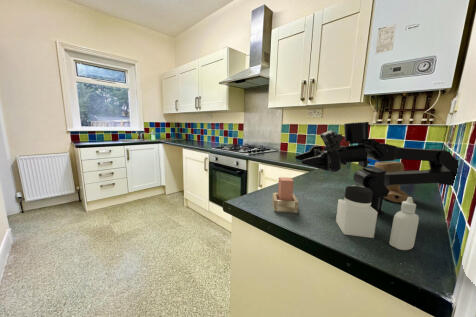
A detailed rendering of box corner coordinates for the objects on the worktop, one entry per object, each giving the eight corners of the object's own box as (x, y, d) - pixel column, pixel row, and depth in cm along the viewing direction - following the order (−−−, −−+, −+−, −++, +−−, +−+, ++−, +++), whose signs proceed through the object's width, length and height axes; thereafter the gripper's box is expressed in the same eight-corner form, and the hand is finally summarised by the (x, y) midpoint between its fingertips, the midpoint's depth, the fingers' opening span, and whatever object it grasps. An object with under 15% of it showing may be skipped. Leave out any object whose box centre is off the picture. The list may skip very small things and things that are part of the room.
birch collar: (293, 203, 69) (294, 194, 68) (297, 212, 61) (298, 202, 60) (272, 202, 69) (272, 192, 69) (273, 210, 62) (274, 200, 61)
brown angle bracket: (368, 189, 88) (373, 157, 85) (401, 194, 83) (407, 160, 80) (374, 200, 74) (380, 162, 72) (414, 206, 69) (421, 166, 67)
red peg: (288, 204, 67) (290, 177, 66) (291, 209, 63) (293, 180, 62) (277, 204, 67) (278, 177, 66) (279, 209, 63) (281, 180, 62)
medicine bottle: (374, 238, 48) (381, 193, 46) (343, 234, 49) (349, 190, 47) (362, 224, 54) (367, 184, 53) (335, 221, 56) (340, 182, 54)
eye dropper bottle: (382, 238, 48) (390, 193, 46) (408, 241, 47) (417, 195, 45) (393, 249, 43) (402, 199, 41) (421, 253, 42) (432, 202, 40)
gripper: (333, 130, 71) (291, 134, 73) (361, 130, 53) (303, 137, 54) (334, 159, 73) (293, 163, 74) (361, 169, 54) (306, 175, 56)
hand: (298, 159), depth 65 cm, fingers open, 9 cm apart
